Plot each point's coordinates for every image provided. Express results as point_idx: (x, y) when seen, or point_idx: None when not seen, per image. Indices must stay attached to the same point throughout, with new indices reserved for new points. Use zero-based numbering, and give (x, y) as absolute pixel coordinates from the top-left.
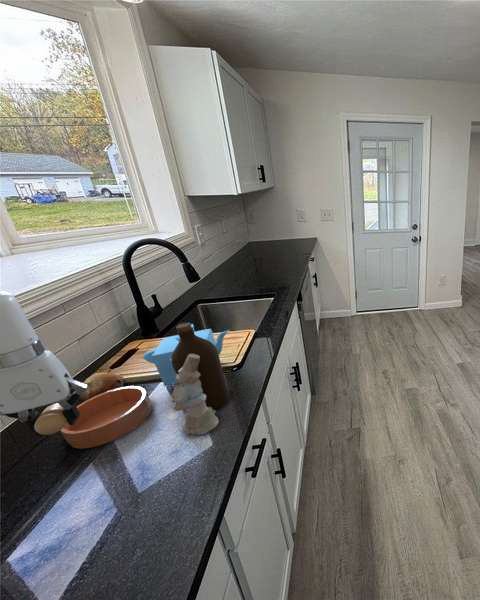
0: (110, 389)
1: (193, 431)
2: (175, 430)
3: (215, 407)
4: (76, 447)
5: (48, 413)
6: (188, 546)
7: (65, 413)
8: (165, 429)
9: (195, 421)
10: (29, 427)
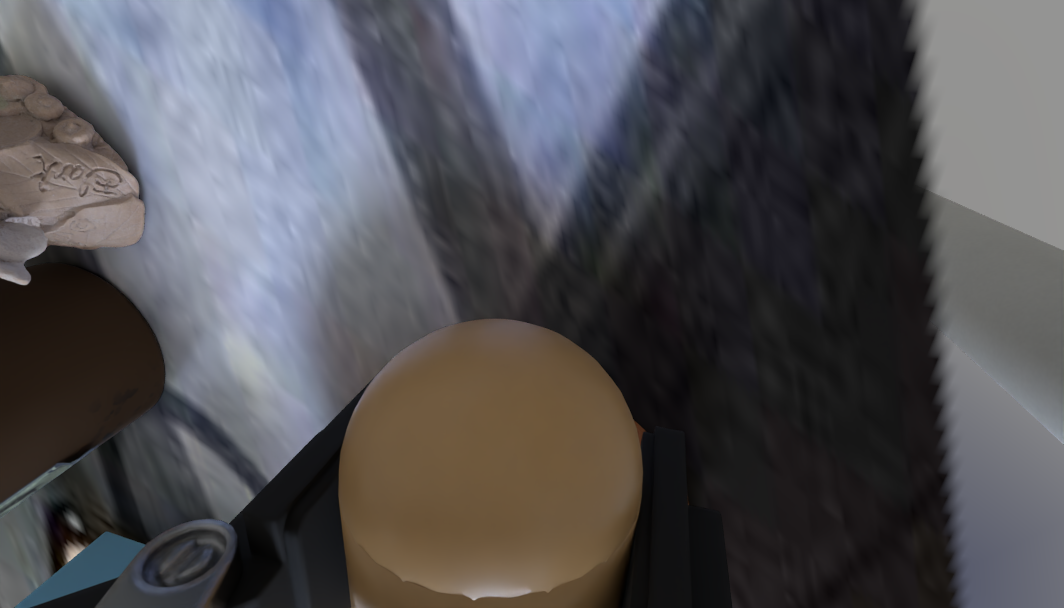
0: None
1: (30, 95)
2: (198, 230)
3: (31, 266)
4: (642, 431)
5: (413, 595)
6: None
7: (286, 484)
8: (250, 274)
9: None
10: (721, 553)
